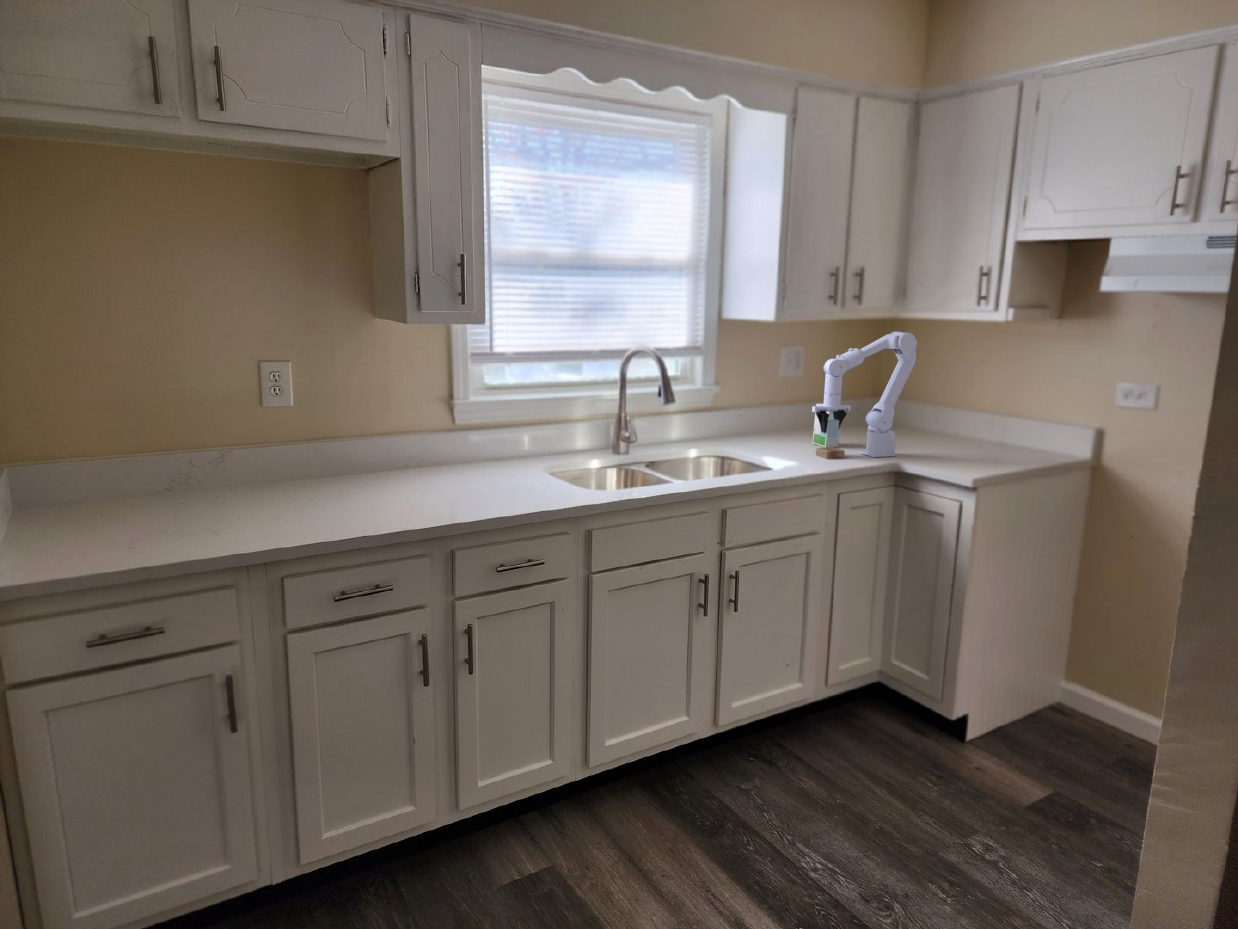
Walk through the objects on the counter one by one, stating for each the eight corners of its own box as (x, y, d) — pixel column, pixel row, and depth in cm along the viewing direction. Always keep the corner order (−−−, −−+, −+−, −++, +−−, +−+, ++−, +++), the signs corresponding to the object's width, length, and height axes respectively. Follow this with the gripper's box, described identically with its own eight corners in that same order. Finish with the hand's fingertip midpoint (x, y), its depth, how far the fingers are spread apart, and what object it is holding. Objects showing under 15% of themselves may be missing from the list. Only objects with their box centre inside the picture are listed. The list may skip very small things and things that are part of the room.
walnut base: (832, 455, 291) (833, 447, 291) (844, 459, 285) (844, 450, 284) (815, 456, 289) (816, 447, 288) (826, 460, 283) (827, 451, 282)
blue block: (830, 435, 291) (831, 418, 290) (838, 437, 287) (839, 420, 286) (819, 435, 289) (820, 419, 288) (827, 437, 285) (828, 420, 284)
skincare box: (811, 444, 310) (814, 403, 307) (825, 443, 313) (828, 402, 310) (826, 448, 303) (829, 406, 300) (840, 447, 306) (843, 405, 302)
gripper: (843, 391, 291) (841, 429, 293) (808, 392, 286) (805, 430, 289) (855, 394, 284) (852, 432, 287) (819, 395, 279) (816, 434, 282)
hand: (829, 431), depth 287 cm, fingers closed on blue block, 4 cm apart
